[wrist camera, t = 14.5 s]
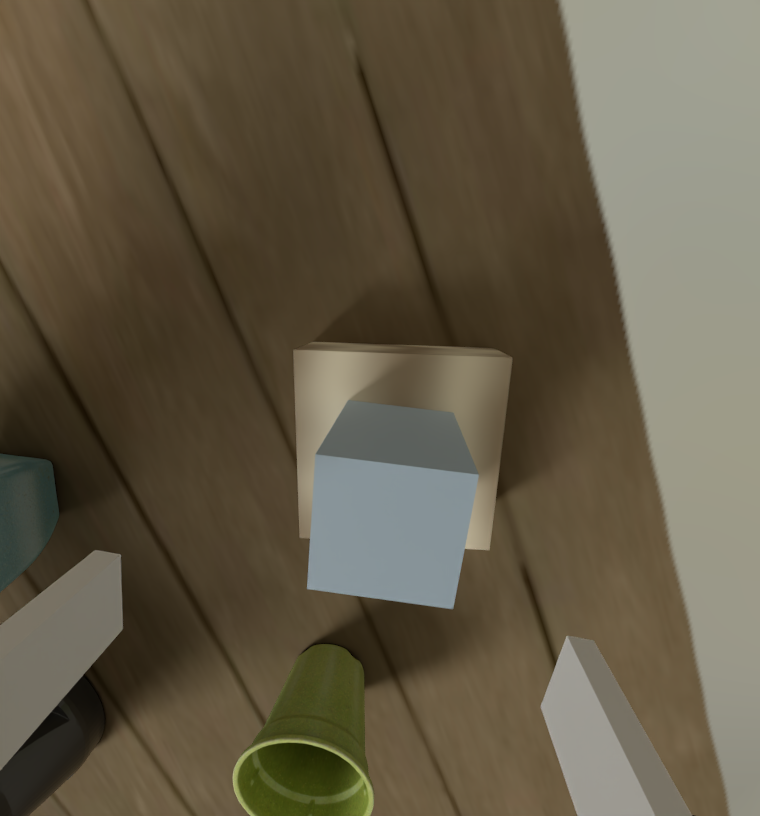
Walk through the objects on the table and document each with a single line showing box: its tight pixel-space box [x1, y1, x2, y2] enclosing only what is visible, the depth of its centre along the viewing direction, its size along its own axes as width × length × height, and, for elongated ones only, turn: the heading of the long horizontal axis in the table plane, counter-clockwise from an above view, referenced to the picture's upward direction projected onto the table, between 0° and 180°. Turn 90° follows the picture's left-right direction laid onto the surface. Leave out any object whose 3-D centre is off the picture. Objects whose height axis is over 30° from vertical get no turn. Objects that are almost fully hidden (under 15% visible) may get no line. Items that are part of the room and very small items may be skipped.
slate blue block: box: [307, 400, 479, 609], centre depth 18 cm, size 6×6×8 cm
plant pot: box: [233, 644, 374, 816], centre depth 29 cm, size 9×9×9 cm
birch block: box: [293, 342, 513, 550], centre depth 25 cm, size 12×12×5 cm
